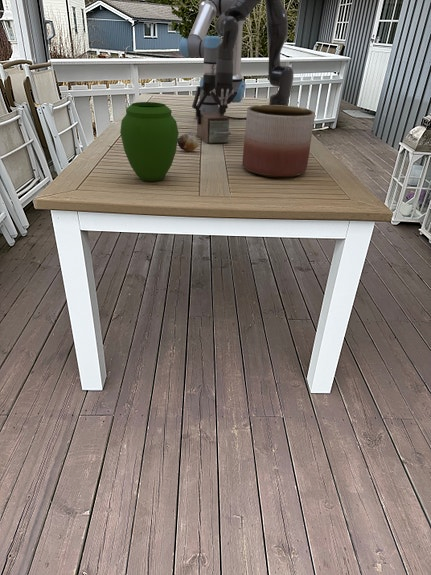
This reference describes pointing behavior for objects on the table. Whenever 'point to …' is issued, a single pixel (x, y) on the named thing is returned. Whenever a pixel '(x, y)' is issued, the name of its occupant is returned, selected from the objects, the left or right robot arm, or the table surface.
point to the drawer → (219, 131)
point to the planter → (277, 140)
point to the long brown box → (208, 124)
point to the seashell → (188, 142)
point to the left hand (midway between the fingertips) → (209, 123)
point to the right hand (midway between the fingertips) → (222, 113)
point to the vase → (149, 139)
